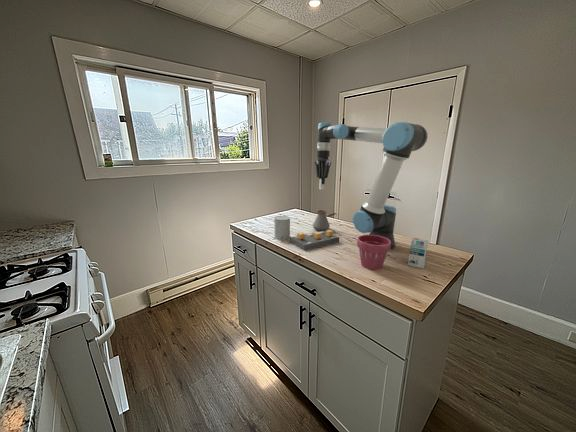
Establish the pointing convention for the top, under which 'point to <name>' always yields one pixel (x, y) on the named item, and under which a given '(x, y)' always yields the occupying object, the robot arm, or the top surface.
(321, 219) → the coffee pot
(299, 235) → the switch
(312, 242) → the grey flat tray
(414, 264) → the light bulb box
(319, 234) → the switch
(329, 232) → the switch
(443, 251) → the top surface
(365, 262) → the plant pot
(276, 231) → the grey cylinder
